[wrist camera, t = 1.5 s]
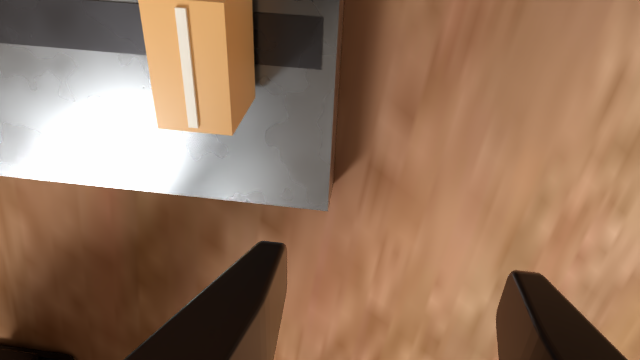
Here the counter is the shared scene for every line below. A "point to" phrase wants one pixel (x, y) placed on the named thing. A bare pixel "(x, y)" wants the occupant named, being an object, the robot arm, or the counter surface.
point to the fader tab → (200, 62)
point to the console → (139, 111)
